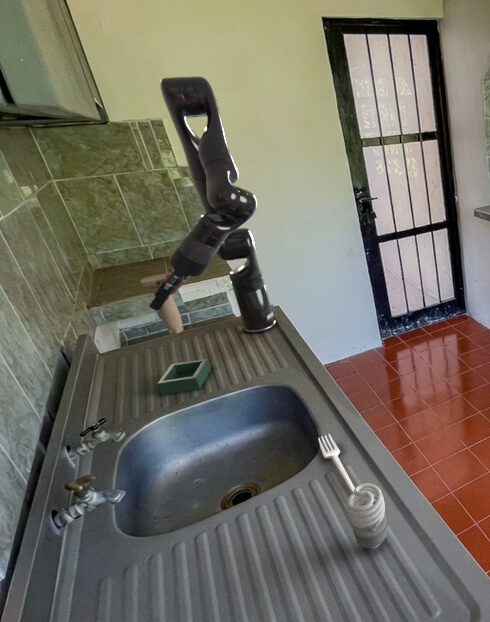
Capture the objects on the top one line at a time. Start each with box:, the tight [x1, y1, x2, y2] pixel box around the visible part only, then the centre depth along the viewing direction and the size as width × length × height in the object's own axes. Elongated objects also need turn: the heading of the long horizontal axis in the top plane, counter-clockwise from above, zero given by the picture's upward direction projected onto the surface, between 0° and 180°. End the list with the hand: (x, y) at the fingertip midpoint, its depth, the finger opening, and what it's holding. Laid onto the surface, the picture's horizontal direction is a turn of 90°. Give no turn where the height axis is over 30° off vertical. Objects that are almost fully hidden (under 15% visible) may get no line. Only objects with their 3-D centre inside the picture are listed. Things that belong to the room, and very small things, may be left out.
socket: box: [156, 358, 212, 395], centre depth 122 cm, size 10×9×4 cm
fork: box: [317, 433, 356, 497], centre depth 91 cm, size 3×20×2 cm, turn 36°
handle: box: [140, 273, 184, 335], centre depth 114 cm, size 5×6×15 cm
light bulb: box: [346, 482, 389, 549], centre depth 72 cm, size 6×6×12 cm
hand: (157, 305), depth 114 cm, fingers closed on handle, 3 cm apart
